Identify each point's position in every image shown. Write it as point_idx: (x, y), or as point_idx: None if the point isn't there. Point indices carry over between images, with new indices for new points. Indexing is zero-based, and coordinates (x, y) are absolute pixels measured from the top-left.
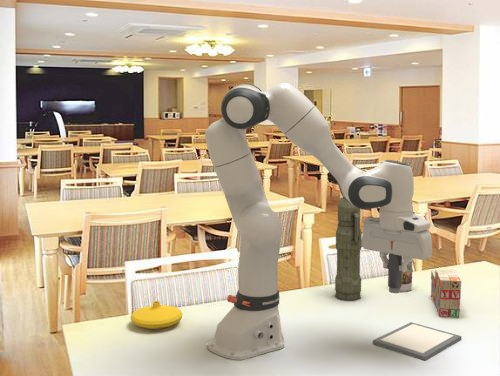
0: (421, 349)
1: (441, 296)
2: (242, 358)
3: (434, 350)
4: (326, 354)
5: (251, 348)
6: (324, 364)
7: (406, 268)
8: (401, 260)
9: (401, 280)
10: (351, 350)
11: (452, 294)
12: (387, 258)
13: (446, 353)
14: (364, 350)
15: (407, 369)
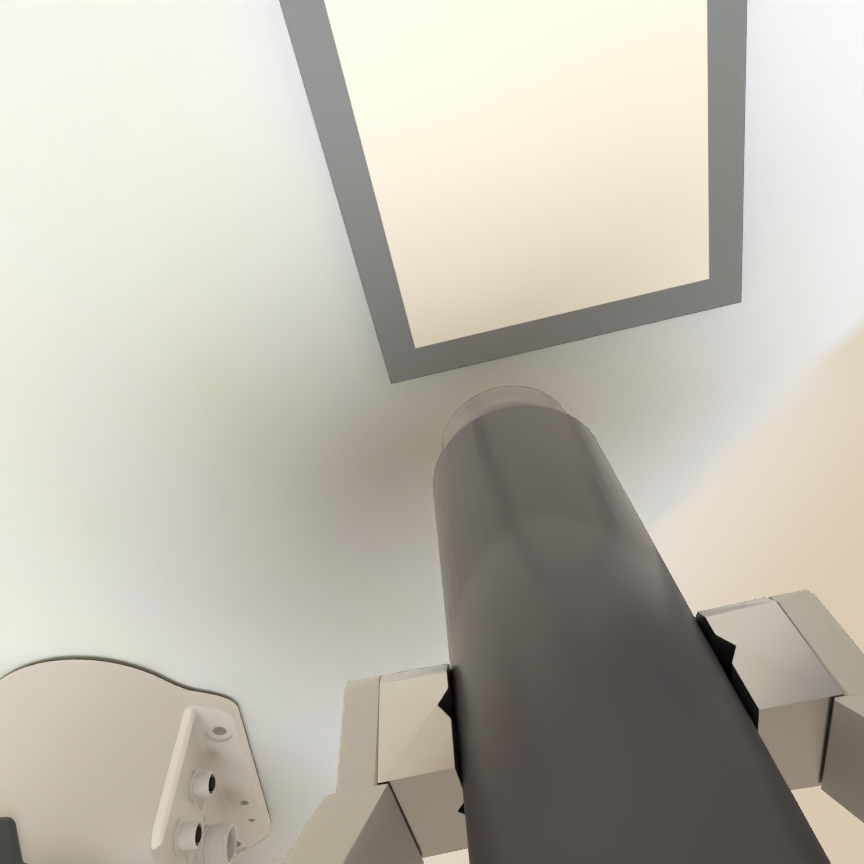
0: (674, 245)
1: None
2: (269, 823)
3: (734, 175)
4: (377, 610)
5: (224, 805)
6: None
7: (837, 639)
8: (812, 837)
9: (622, 487)
10: (400, 510)
11: None
12: (348, 852)
13: (775, 86)
14: (436, 462)
15: (719, 438)
